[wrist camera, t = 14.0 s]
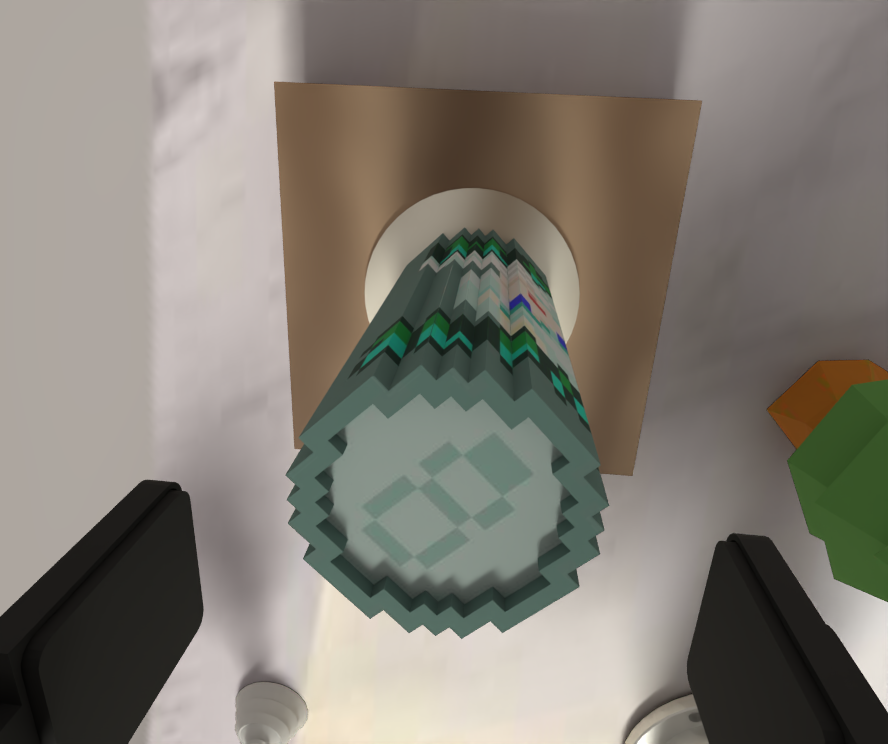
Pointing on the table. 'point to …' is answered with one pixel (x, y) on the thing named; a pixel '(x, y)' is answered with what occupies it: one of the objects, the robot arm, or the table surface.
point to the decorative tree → (842, 465)
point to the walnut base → (485, 221)
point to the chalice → (268, 714)
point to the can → (453, 449)
